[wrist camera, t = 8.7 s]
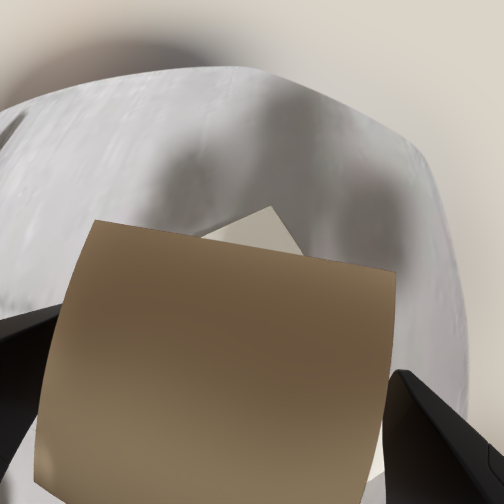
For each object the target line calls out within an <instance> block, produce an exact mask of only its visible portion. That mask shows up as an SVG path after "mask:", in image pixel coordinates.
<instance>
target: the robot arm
mask: <svg viewBox="0 0 504 504" xmlns="http://www.w3.org/2000/svg"><path fill="white" fill-rule="evenodd" d="M62 304H63V303H62ZM62 304H58V305H55V306H51V307H47V308H43V309H40V310H36V311H32V312H28V313H25V314H21V315H17V316H13V317H10V318H6V319H2V320H0V483H1V481H2V479H3V477H4V475H5V473H6V471H7V469H8V467H9V464H10V462H11V460H12V459H13V457H14V455H15V453H16V451H17V449H18V447H19V446H20V444H21V442H22V440H23V438H24V437H25V435H26V433H27V431H28V430H29V428H30V426H31V425H32V423H33V421H34V420H35V418H36V416H37V415H38V409H39V402H40V396H41V390H42V384H43V378H44V373H45V368H46V364H47V359H48V355H49V351H50V346H51V342H52V338H53V335H54V331H55V327H56V324H57V320H58V317H59V313H60V310H61V307H62ZM382 446H383V458H384V470H385V485H386V504H504V456H502V455H501V454H500V453H499V452H498V451H497V450H496V449H495V448H494V447H493V446H492V445H491V444H488V442H487V441H486V440H485V439H484V438H483V437H482V436H481V435H480V434H479V433H478V432H477V431H476V430H475V429H474V428H472V427H471V426H470V425H469V424H468V423H467V422H466V421H465V420H464V419H463V418H462V417H461V416H459V415H458V414H457V413H456V412H455V411H454V410H453V409H452V408H451V407H450V406H449V405H447V404H446V403H445V402H444V401H443V400H442V399H441V398H440V397H439V396H438V395H436V394H435V393H434V392H433V391H432V390H431V389H430V388H429V387H428V386H426V385H425V384H424V383H423V382H422V381H421V380H420V379H419V378H418V377H416V376H415V375H414V374H413V373H412V372H411V371H409V370H401V369H397V370H395V371H394V372H393V374H392V376H391V377H390V379H389V382H388V389H387V395H386V401H385V407H384V413H383V418H382Z"/></svg>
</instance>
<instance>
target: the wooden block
mask: <svg viewBox="0 0 504 504" xmlns="http://www.w3.org/2000/svg"><path fill="white" fill-rule="evenodd" d="M395 297H396V272H392V271H386V270H381V269H375V268H370V267H364V266H359V265H353V264H348V263H342V262H337V261H331V260H325V259H320V258H314V257H309V256H303V255H297V254H292V253H286V252H280V251H275V250H269V249H263V248H258V247H252V246H246V245H240V244H235V243H229V242H223V241H217V240H212V239H206V238H200V237H194V236H188V235H183V234H177V233H171V232H165V231H159V230H153V229H147V228H142V227H136V226H130V225H124V224H118V223H112V222H106V221H100V220H95V221H94V223H93V225H92V228H91V230H90V232H89V234H88V237H87V239H86V241H85V244H84V246H83V249H82V251H81V254H80V256H79V259H78V261H77V264H76V266H75V269H74V272H73V274H72V277H71V280H70V283H69V286H68V289H67V291H66V294H65V298H64V301H63V304H62V307H61V310H60V313H59V317H58V320H57V324H56V327H55V331H54V335H53V338H52V342H51V346H50V351H49V355H48V359H47V364H46V368H45V373H44V378H43V384H42V390H41V396H40V402H39V409H38V417H37V426H36V437H35V451H34V482H35V483H37V484H38V485H39V486H41V487H42V488H43V489H45V490H46V491H48V492H49V493H51V494H52V495H54V496H55V497H57V498H58V499H60V500H61V501H63V502H65V503H66V504H360V502H361V499H362V496H363V493H364V490H365V487H366V483H367V480H368V477H369V473H370V470H371V466H372V462H373V458H374V454H375V450H376V446H377V442H378V437H379V433H380V428H381V423H382V418H383V413H384V407H385V401H386V395H387V389H388V382H389V374H390V366H391V357H392V347H393V335H394V320H395Z"/></svg>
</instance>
